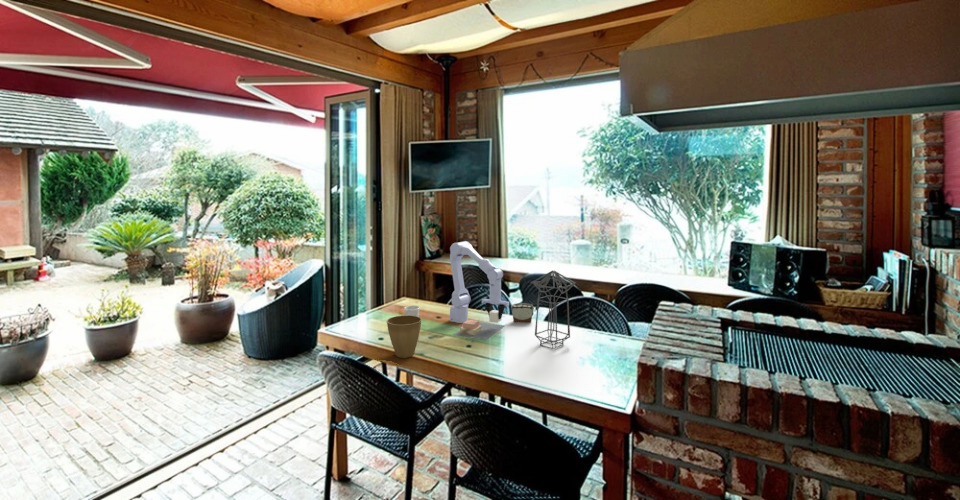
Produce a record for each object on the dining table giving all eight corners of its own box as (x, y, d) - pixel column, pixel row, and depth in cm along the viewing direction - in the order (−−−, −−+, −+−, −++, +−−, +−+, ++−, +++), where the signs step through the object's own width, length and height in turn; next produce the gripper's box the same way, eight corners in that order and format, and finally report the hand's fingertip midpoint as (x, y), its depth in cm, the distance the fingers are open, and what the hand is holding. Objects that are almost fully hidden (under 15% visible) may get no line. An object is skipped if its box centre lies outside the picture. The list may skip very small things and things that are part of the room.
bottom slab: (460, 332, 220) (460, 328, 220) (467, 328, 228) (467, 323, 227) (474, 335, 217) (474, 330, 217) (481, 330, 224) (481, 325, 224)
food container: (533, 320, 242) (533, 303, 241) (533, 324, 236) (534, 305, 235) (511, 320, 244) (511, 302, 242) (510, 323, 238) (510, 305, 236)
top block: (489, 321, 226) (489, 312, 225) (493, 319, 230) (493, 309, 229) (497, 322, 224) (497, 313, 223) (501, 320, 228) (501, 310, 227)
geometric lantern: (549, 337, 215) (550, 266, 210) (576, 345, 203) (578, 270, 199) (527, 345, 205) (528, 270, 200) (554, 354, 193) (555, 275, 188)
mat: (452, 336, 218) (452, 334, 218) (474, 322, 239) (474, 321, 239) (485, 341, 210) (485, 339, 210) (505, 327, 231) (505, 325, 231)
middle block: (462, 327, 221) (462, 322, 220) (468, 324, 226) (468, 319, 226) (473, 329, 218) (473, 324, 218) (478, 325, 223) (478, 321, 223)
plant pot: (421, 360, 187) (420, 324, 185) (385, 362, 186) (384, 325, 184) (423, 348, 202) (422, 314, 200) (390, 349, 201) (389, 315, 199)
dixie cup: (421, 323, 239) (421, 305, 238) (418, 328, 231) (417, 309, 229) (406, 323, 240) (406, 305, 238) (402, 328, 232) (402, 309, 230)
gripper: (479, 292, 224) (479, 318, 226) (505, 295, 218) (505, 322, 220) (484, 289, 231) (485, 314, 232) (510, 292, 224) (510, 318, 226)
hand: (495, 318), depth 227 cm, fingers closed on top block, 5 cm apart
